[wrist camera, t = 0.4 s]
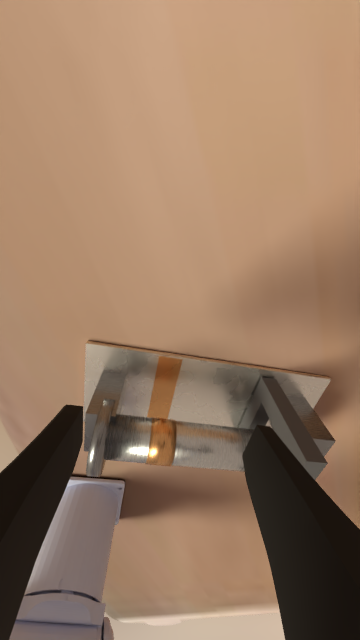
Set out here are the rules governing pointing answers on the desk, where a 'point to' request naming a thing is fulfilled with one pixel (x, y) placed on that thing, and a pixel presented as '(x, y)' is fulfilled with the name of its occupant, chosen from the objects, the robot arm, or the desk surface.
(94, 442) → the rail
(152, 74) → the desk surface
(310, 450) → the collar
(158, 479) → the desk surface
